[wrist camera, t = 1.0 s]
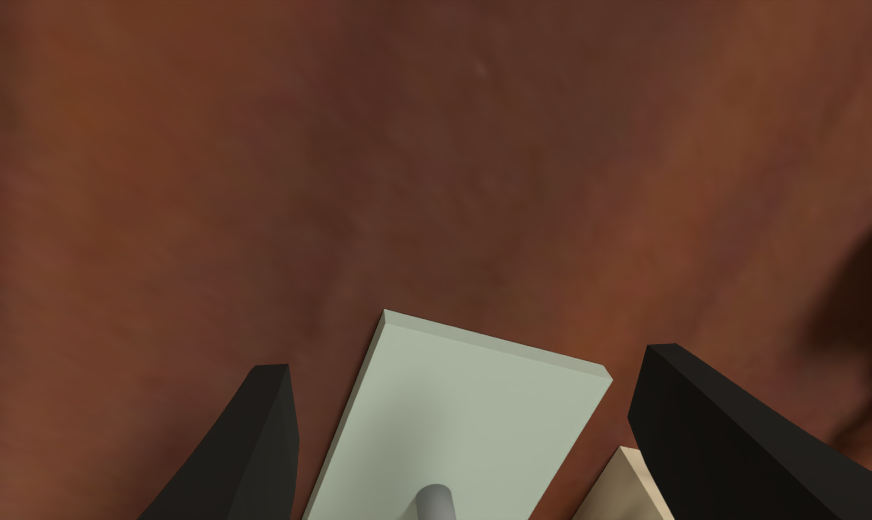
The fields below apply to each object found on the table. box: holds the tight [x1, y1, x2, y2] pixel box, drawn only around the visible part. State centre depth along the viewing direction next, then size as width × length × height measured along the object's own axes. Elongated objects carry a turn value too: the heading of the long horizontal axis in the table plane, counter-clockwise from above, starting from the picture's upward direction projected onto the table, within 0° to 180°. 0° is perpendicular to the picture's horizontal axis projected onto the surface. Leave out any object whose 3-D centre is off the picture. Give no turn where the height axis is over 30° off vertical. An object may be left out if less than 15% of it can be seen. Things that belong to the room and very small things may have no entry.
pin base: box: [302, 309, 613, 520], centre depth 23 cm, size 16×10×4 cm, turn 159°
